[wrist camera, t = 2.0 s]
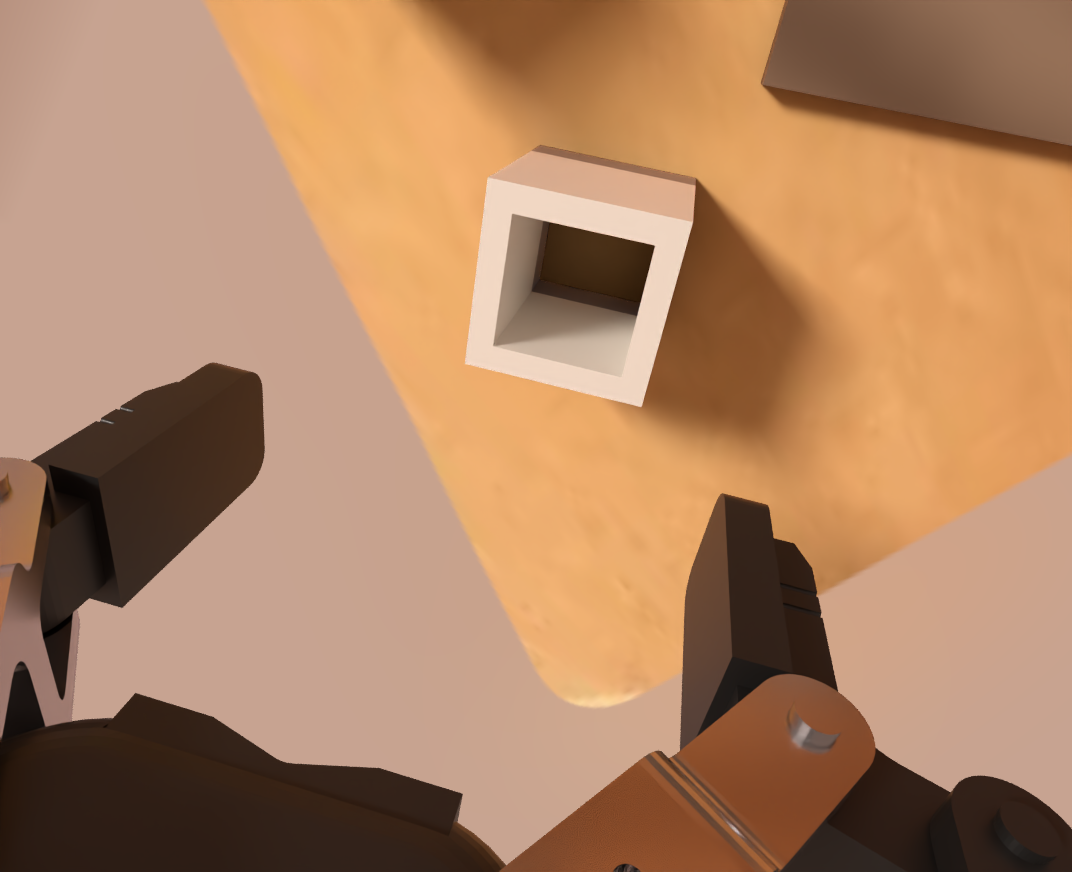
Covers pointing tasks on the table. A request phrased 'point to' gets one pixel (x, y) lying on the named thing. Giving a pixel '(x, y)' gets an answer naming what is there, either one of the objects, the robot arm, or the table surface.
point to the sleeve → (565, 312)
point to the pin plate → (934, 59)
